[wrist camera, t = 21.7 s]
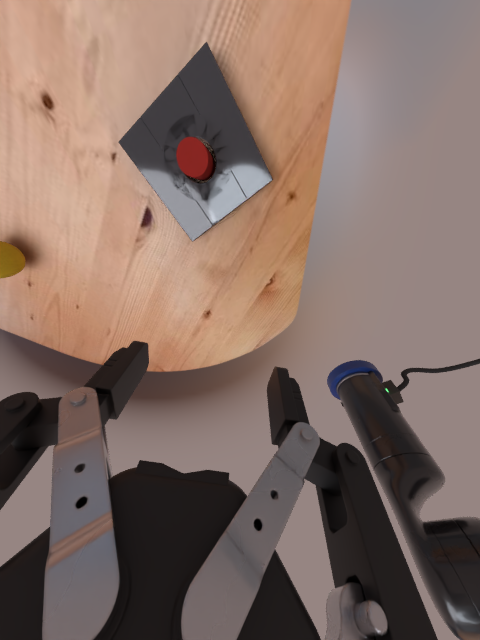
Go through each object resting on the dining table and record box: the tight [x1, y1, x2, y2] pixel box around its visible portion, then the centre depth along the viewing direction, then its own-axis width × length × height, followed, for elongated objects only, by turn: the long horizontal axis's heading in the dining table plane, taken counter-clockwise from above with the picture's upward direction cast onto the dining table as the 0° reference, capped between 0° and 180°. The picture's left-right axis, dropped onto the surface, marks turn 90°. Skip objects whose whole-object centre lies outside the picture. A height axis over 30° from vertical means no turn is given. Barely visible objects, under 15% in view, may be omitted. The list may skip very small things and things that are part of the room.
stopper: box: [176, 137, 215, 181], centre depth 25 cm, size 4×4×6 cm
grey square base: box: [119, 42, 273, 241], centre depth 27 cm, size 14×14×2 cm
